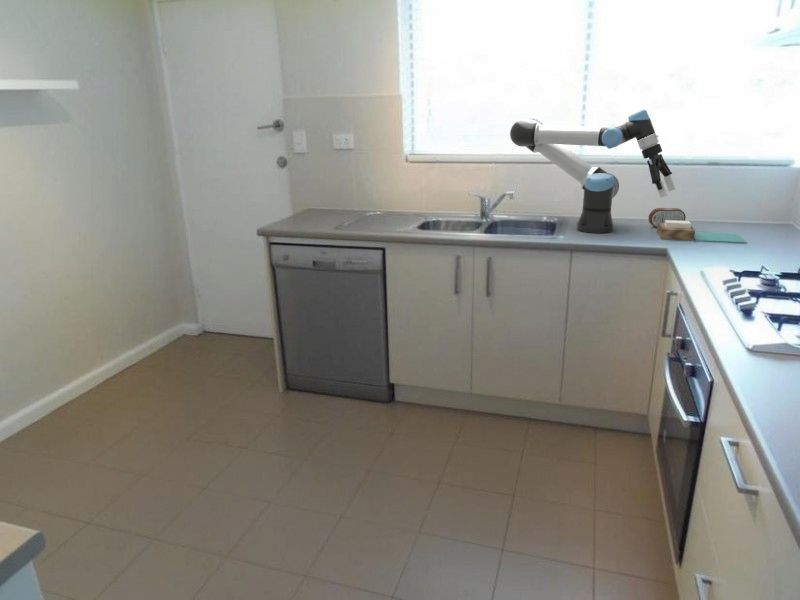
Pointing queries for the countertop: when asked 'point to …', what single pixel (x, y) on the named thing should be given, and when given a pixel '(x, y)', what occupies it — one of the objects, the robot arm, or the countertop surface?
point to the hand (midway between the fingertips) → (668, 193)
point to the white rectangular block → (677, 224)
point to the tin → (665, 215)
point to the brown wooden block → (675, 233)
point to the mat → (718, 237)
